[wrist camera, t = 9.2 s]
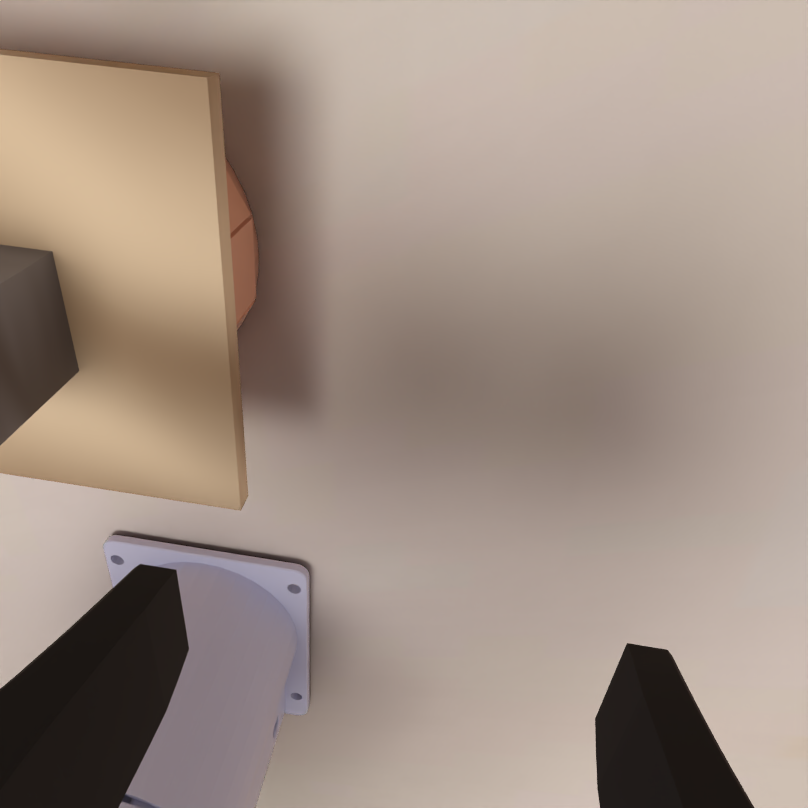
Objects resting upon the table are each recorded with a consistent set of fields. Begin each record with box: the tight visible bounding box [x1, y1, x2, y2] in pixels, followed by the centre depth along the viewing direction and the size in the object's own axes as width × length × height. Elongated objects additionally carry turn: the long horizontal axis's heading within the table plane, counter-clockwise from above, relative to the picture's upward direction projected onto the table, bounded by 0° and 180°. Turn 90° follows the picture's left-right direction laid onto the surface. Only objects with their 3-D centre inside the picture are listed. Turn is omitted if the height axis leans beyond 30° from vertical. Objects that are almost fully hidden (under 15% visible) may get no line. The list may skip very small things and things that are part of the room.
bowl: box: [225, 158, 259, 330], centre depth 17 cm, size 9×9×4 cm
